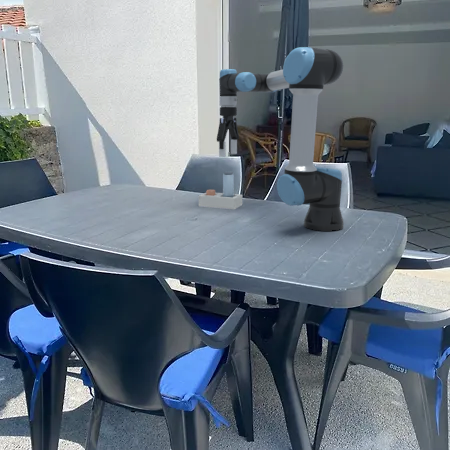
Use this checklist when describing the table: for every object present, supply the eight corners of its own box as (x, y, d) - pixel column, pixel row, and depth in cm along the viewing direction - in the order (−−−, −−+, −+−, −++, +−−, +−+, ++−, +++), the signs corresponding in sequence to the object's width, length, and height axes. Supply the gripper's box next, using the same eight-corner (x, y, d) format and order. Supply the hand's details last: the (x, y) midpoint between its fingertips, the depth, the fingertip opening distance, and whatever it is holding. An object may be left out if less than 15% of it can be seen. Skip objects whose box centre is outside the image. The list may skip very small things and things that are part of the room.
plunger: (213, 202, 200) (213, 191, 199) (205, 202, 202) (204, 190, 200) (216, 201, 204) (216, 189, 203) (208, 200, 206) (208, 189, 204)
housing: (234, 211, 194) (234, 198, 192) (198, 208, 201) (198, 195, 199) (242, 207, 203) (242, 194, 201) (207, 204, 209) (207, 191, 208)
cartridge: (231, 207, 197) (231, 173, 193) (221, 206, 199) (221, 172, 194) (235, 205, 201) (235, 171, 197) (225, 204, 203) (225, 171, 199)
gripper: (224, 106, 176) (225, 158, 181) (246, 106, 198) (245, 153, 203) (208, 106, 179) (209, 157, 184) (231, 106, 201) (231, 152, 206)
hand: (228, 155), depth 194 cm, fingers open, 13 cm apart
